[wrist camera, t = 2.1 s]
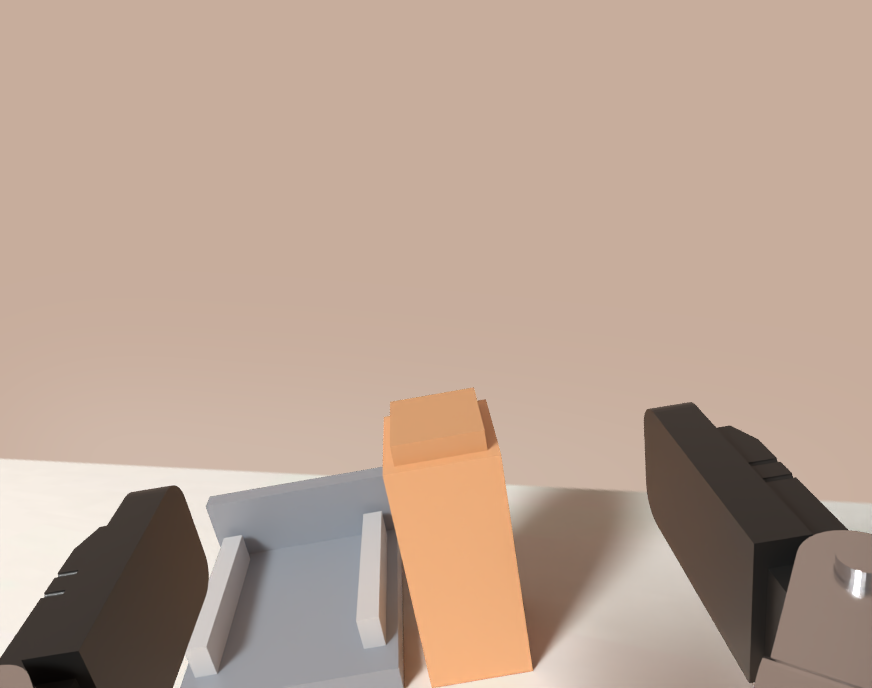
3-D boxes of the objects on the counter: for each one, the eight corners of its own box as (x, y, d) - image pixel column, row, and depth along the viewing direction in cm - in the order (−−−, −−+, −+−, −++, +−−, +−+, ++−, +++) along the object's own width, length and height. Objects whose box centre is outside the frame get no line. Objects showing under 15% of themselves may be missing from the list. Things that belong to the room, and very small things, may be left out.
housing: (401, 537, 35) (385, 466, 33) (404, 690, 26) (382, 605, 24) (234, 565, 35) (209, 496, 33) (183, 727, 26) (146, 645, 25)
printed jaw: (515, 595, 30) (482, 381, 26) (532, 670, 26) (497, 434, 22) (427, 610, 30) (380, 399, 26) (431, 688, 26) (377, 455, 22)
